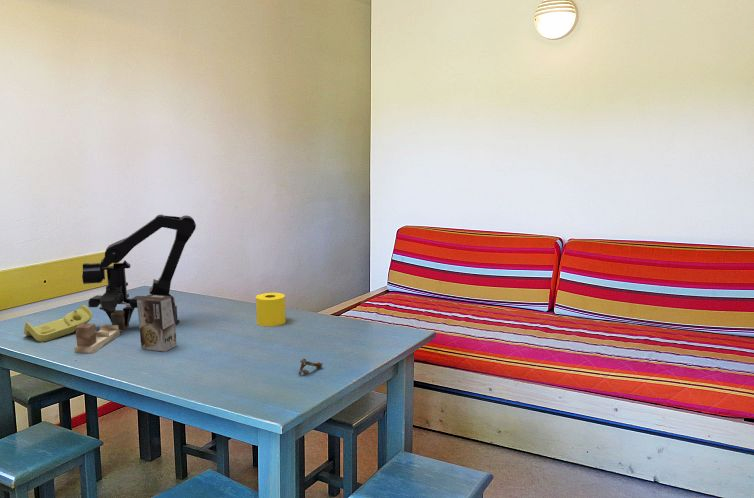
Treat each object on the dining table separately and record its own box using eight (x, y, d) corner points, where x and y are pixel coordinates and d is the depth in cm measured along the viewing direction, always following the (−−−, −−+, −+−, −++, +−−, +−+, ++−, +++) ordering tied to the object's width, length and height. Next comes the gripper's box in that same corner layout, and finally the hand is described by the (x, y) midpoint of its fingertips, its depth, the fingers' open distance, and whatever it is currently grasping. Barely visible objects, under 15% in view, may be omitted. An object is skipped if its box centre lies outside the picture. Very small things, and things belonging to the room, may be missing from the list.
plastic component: (39, 337, 200) (23, 319, 204) (38, 354, 204) (22, 336, 208) (97, 317, 215) (81, 301, 220) (95, 334, 219) (80, 318, 223)
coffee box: (177, 345, 198) (174, 295, 195) (164, 352, 192) (160, 301, 189) (153, 342, 201) (150, 293, 198) (140, 349, 195) (136, 298, 192)
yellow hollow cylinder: (255, 319, 225) (254, 293, 223) (283, 317, 228) (282, 291, 226) (258, 327, 216) (257, 300, 214) (287, 324, 218) (286, 298, 217)
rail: (119, 335, 208) (117, 311, 207) (93, 352, 192) (91, 327, 190) (102, 334, 209) (100, 311, 207) (74, 352, 192) (72, 327, 191)
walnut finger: (129, 327, 217) (127, 310, 216) (123, 331, 213) (121, 314, 212) (117, 326, 217) (116, 310, 216) (111, 330, 213) (110, 313, 212)
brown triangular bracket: (294, 373, 172) (299, 357, 173) (314, 376, 178) (318, 361, 179) (298, 374, 171) (303, 358, 172) (318, 378, 177) (323, 362, 178)
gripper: (77, 286, 205) (81, 332, 208) (132, 287, 204) (136, 333, 207) (94, 279, 216) (98, 322, 219) (147, 279, 215) (150, 323, 218)
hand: (120, 325), depth 215 cm, fingers closed on walnut finger, 4 cm apart
